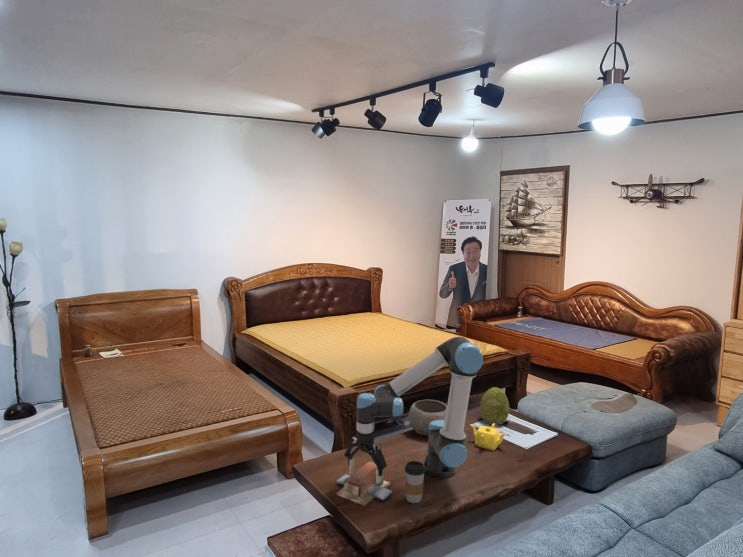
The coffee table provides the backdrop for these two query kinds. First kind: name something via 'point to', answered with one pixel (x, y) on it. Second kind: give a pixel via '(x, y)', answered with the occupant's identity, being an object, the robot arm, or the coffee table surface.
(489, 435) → the teapot
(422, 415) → the bowl
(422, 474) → the coffee cup
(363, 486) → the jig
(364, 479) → the reddish-brown block
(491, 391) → the decorative sculpture
